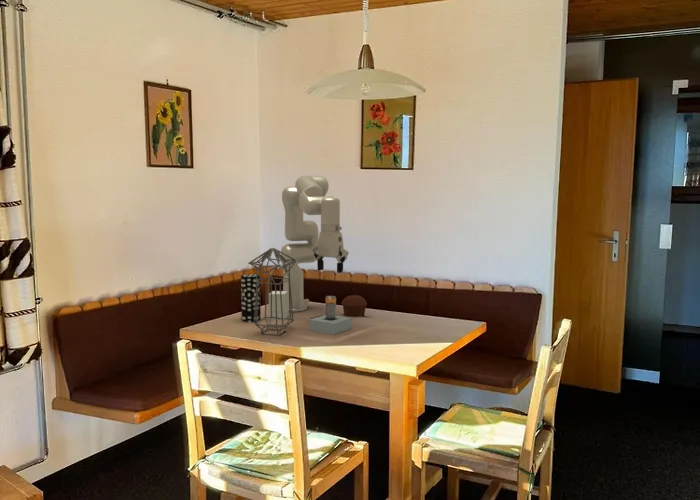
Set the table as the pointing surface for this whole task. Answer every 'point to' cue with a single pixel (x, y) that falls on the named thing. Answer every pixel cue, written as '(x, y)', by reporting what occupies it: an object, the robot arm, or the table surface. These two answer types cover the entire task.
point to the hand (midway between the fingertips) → (330, 271)
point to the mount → (316, 317)
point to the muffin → (354, 306)
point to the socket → (330, 325)
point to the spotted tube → (249, 297)
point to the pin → (330, 307)
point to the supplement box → (278, 305)
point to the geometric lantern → (282, 259)
